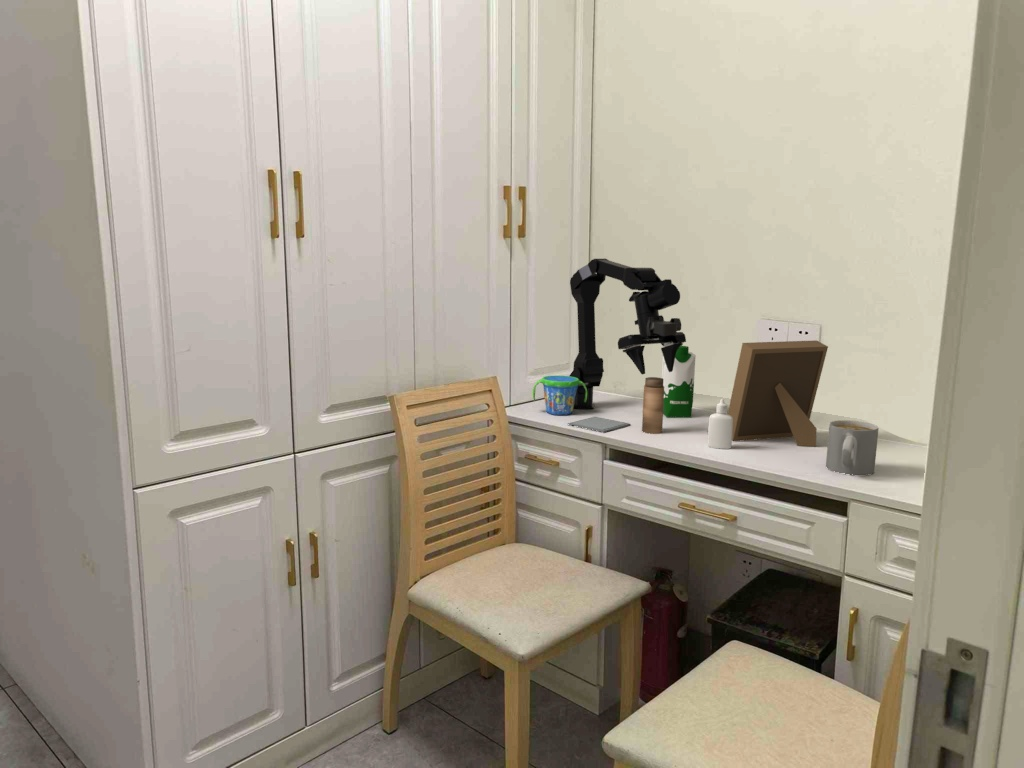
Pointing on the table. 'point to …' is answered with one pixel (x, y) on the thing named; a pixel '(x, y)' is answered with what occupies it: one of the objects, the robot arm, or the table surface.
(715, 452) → the table surface
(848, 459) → the coffee mug
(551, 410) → the snack cup
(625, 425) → the coaster
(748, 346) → the photo frame
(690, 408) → the milk carton
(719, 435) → the eye dropper bottle
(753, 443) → the table surface
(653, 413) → the shaker
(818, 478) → the table surface
